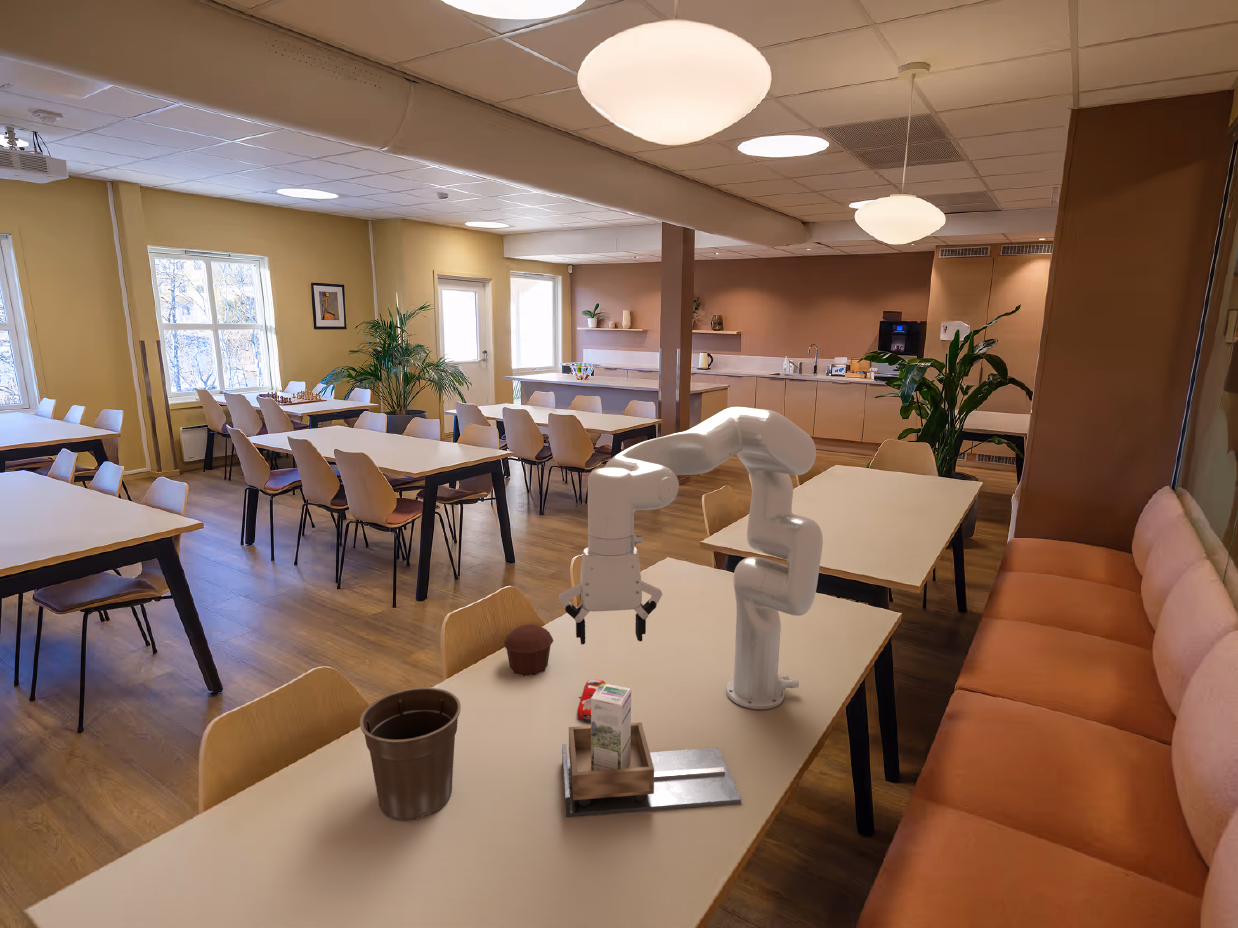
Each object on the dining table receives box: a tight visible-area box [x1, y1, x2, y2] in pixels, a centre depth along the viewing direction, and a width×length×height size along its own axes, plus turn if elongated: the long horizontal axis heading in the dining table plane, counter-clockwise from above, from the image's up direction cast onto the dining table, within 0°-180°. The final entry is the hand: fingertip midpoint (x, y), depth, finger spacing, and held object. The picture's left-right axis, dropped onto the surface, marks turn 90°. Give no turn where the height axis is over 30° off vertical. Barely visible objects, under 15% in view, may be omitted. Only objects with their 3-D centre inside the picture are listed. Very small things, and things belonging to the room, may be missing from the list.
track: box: [561, 743, 742, 819], centre depth 117 cm, size 30×14×4 cm, turn 97°
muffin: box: [503, 623, 554, 677], centre depth 157 cm, size 12×11×10 cm
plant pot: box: [359, 687, 462, 821], centre depth 112 cm, size 16×16×16 cm
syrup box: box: [590, 682, 632, 771], centre depth 115 cm, size 6×6×14 cm
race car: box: [576, 679, 607, 722], centre depth 141 cm, size 13×5×4 cm, turn 173°
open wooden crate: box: [568, 721, 654, 806], centre depth 116 cm, size 14×14×7 cm
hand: (610, 639), depth 111 cm, fingers open, 9 cm apart
